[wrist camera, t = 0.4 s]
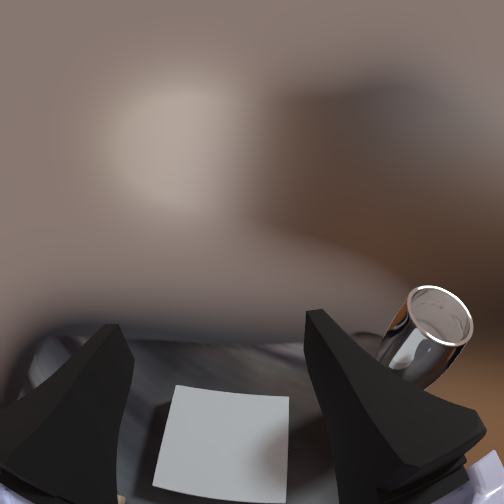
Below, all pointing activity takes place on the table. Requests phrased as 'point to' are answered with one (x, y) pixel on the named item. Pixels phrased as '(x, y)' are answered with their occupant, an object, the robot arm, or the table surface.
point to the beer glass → (425, 336)
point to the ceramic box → (225, 446)
